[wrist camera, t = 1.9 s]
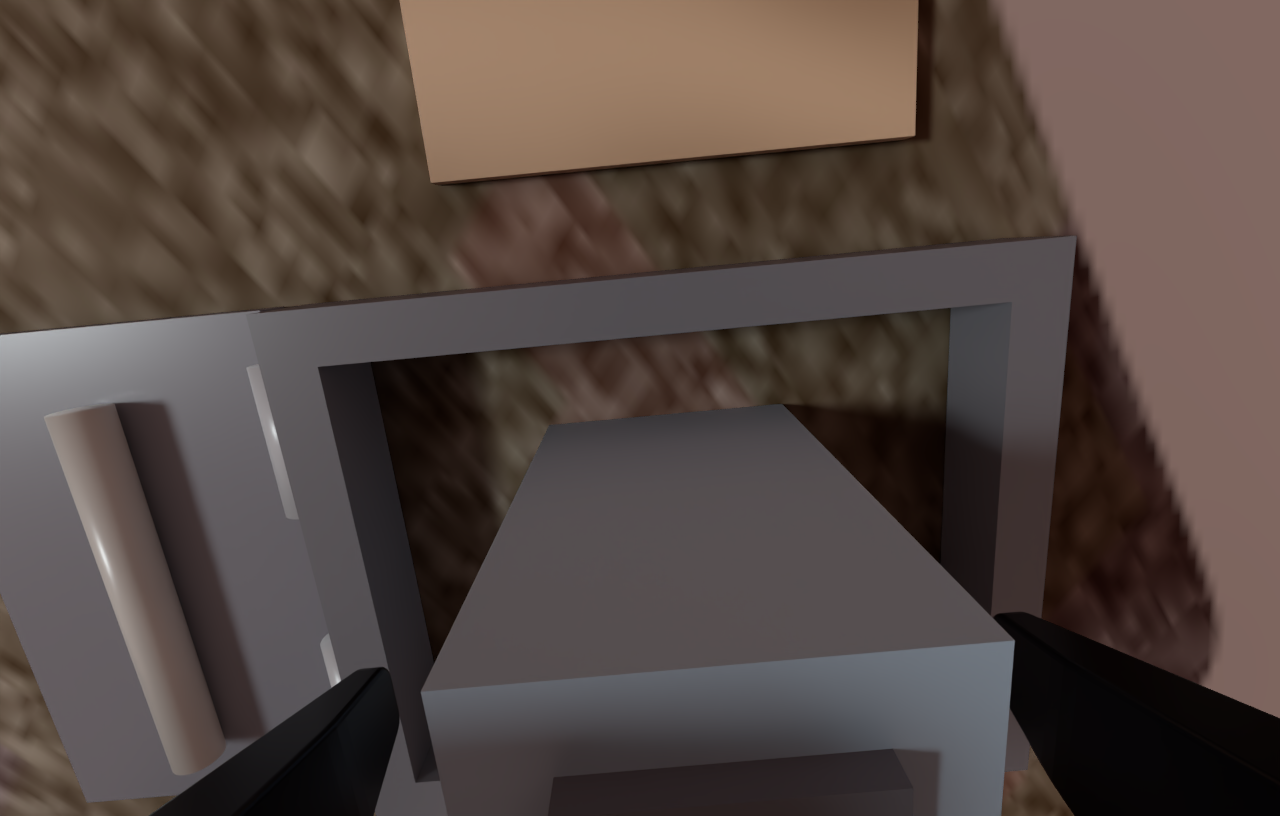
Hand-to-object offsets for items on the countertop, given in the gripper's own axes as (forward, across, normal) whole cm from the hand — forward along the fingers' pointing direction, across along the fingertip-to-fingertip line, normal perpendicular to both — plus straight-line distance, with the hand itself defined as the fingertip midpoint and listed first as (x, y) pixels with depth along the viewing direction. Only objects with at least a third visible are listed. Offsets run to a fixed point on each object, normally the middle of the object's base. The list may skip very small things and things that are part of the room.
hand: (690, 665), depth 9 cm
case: (+5, +4, 0) cm, 6 cm away
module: (+5, 0, 0) cm, 5 cm away
